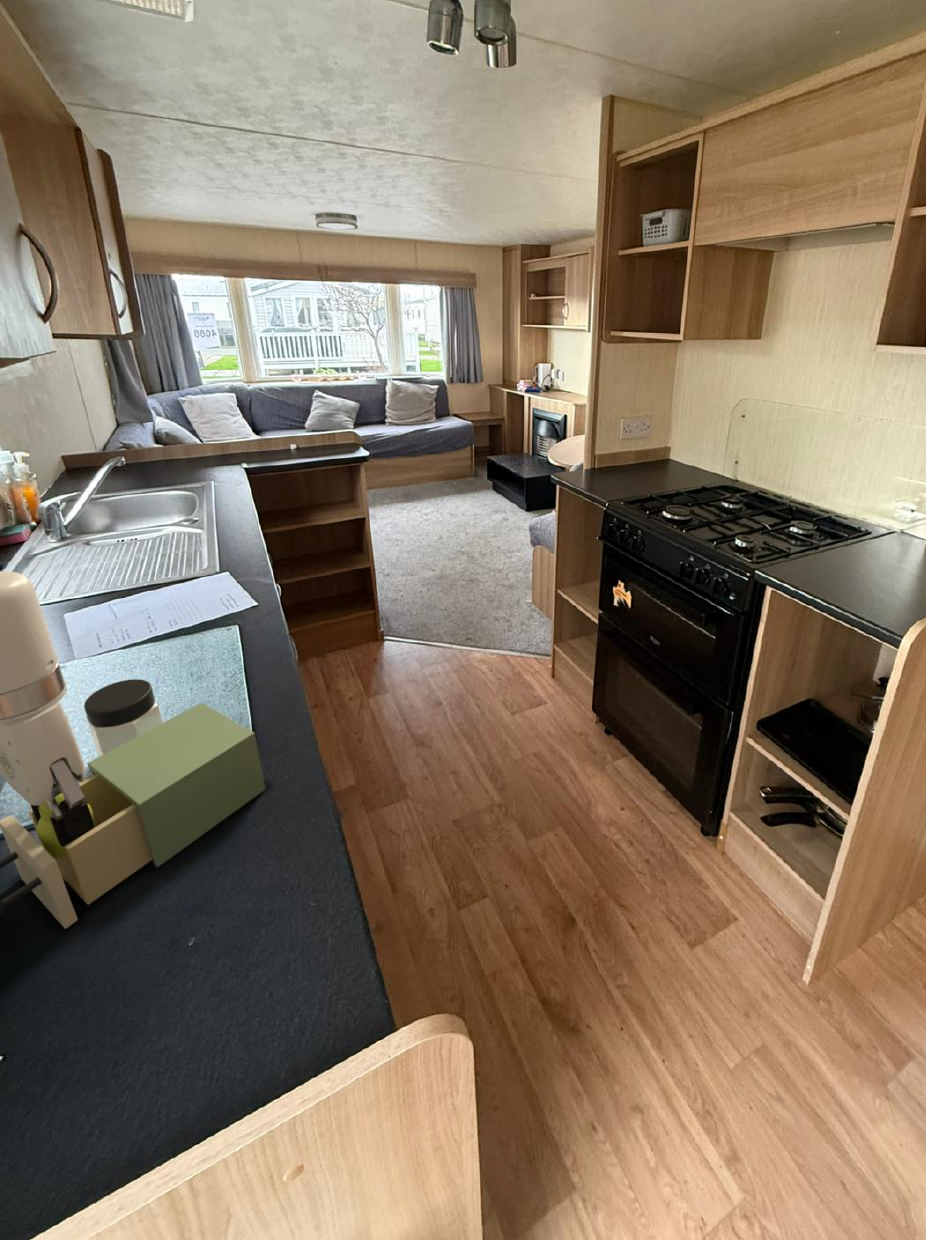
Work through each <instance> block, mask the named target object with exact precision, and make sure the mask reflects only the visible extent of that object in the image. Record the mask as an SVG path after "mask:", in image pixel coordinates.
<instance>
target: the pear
mask: <svg viewBox="0 0 926 1240" xmlns="http://www.w3.org/2000/svg"><path fill="white" fill-rule="evenodd" d="M52 789H53V788H52ZM55 799H56V801H57V804H58V806H59V804H60V802H62V801H63V800H64V796H63V794H62V793H61V794H59V795H57V796H56V797H55ZM87 804H88V803H87ZM88 807H89V810H90V813H91V816H92V819H93V810H92V808H91V807H90V805H89V804H88ZM39 812H40V815H41V818H40V820H39V822H38V825H37V831H36V835H37V838H38V840H39V841H41V842H42V843H43V844H44V846H45V849H46V851H47V852H48V853H49V854H50V855H51V856H52V857H63V856H67V855H68V854H67V851H66V848H65V847H62V846H61V845H60V844H59V842H58V839H57V836H56V834H55V831H54V828H53V826H52V823H51V820H50V818H51V817H52V816H53V814H52V812H51V810H50V808H49V806H48V804H47V801H45V802H44V803H42V804H41V805H39ZM93 822H94V820H93ZM94 825H95V823H94ZM95 827H96V826H94V828H95ZM94 828H93V829H94ZM41 842H40V843H41Z"/></svg>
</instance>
